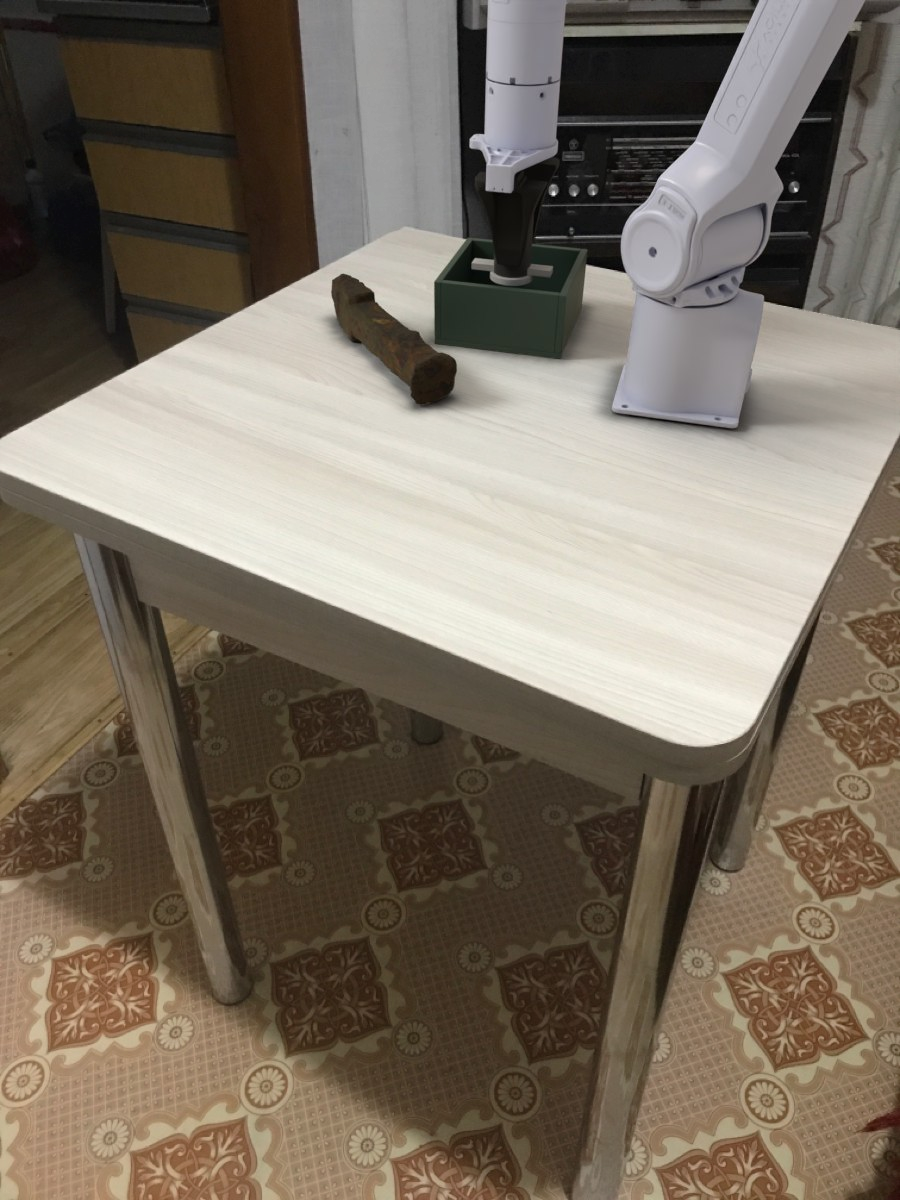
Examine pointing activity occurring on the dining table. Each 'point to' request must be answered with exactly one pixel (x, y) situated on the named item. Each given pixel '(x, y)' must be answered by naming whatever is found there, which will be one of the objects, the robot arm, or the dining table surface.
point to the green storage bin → (509, 302)
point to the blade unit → (514, 268)
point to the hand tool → (392, 341)
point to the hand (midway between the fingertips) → (514, 256)
